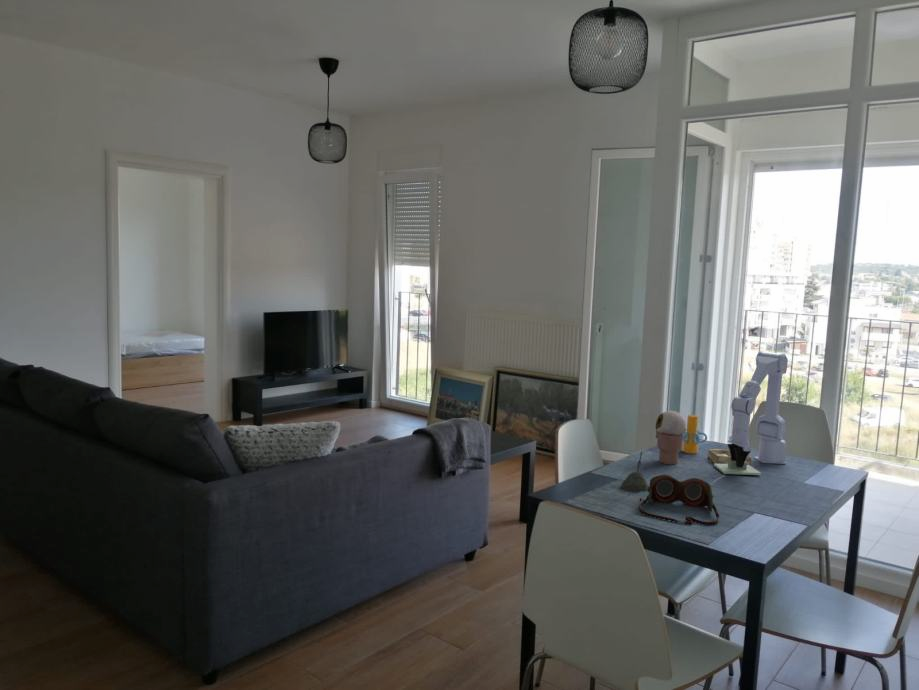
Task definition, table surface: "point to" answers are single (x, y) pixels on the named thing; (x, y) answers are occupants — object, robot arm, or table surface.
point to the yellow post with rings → (692, 435)
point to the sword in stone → (635, 481)
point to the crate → (723, 456)
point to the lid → (737, 468)
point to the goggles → (680, 496)
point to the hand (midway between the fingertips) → (737, 465)
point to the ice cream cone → (669, 435)
